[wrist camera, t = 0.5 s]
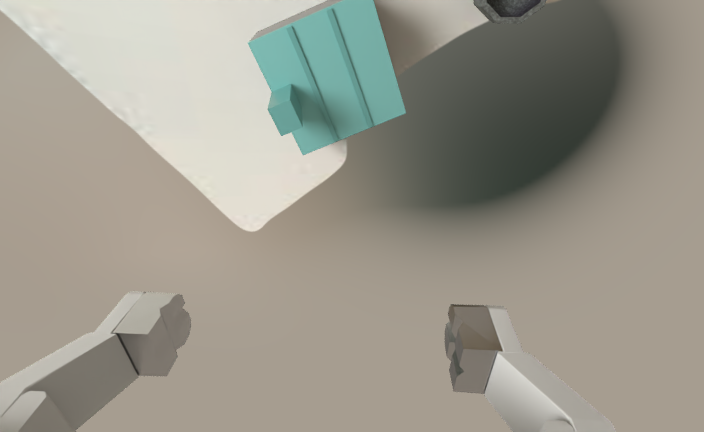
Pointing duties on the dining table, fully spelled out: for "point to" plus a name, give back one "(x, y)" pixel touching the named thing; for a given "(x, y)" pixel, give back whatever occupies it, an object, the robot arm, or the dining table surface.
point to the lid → (329, 74)
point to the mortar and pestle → (508, 9)
